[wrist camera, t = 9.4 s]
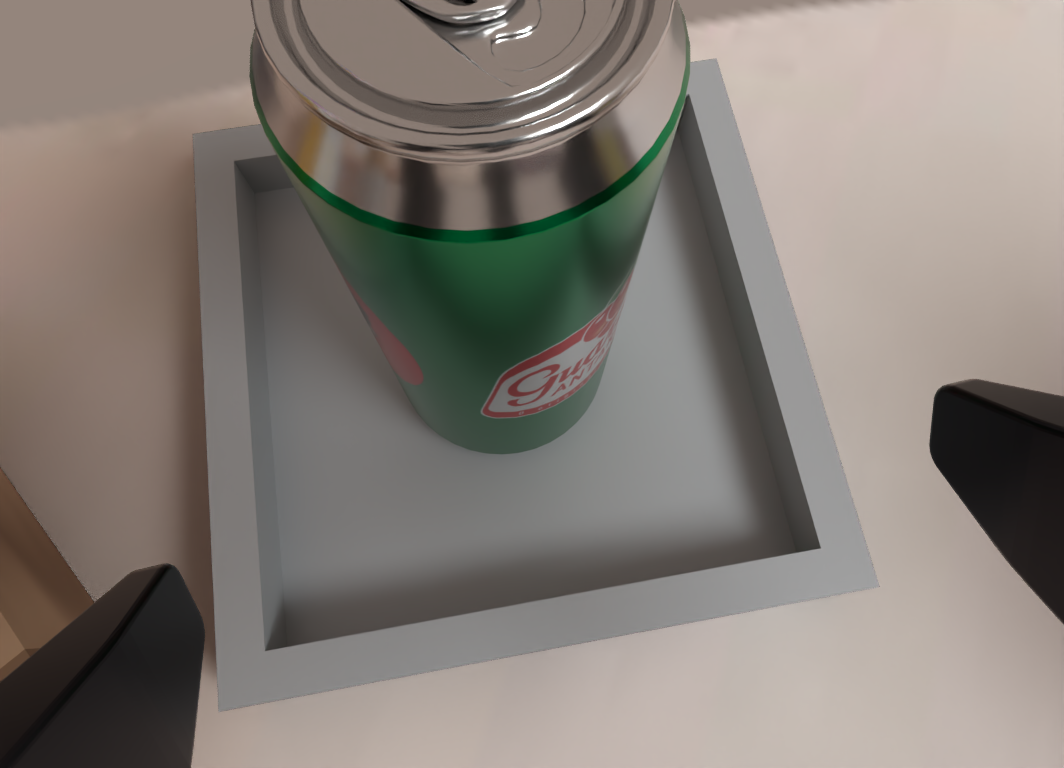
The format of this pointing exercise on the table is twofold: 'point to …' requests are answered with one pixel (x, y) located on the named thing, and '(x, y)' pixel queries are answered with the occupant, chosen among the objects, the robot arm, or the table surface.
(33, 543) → the walnut cup-holder
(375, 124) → the soda can
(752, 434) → the grey tray
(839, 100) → the table surface
